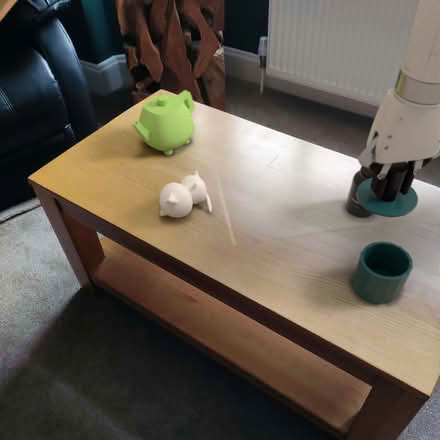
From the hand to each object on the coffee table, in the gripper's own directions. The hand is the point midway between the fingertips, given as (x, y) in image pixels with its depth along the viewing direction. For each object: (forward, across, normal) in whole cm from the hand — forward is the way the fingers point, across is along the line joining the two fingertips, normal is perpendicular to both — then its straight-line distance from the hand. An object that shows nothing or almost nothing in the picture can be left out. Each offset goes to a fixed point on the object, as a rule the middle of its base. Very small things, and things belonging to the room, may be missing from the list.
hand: (388, 190), depth 72 cm
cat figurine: (+19, +34, -23) cm, 45 cm away
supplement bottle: (+19, -5, -16) cm, 26 cm away
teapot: (+19, +36, -51) cm, 66 cm away
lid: (+1, 0, 0) cm, 1 cm away
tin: (+19, -1, +5) cm, 20 cm away
